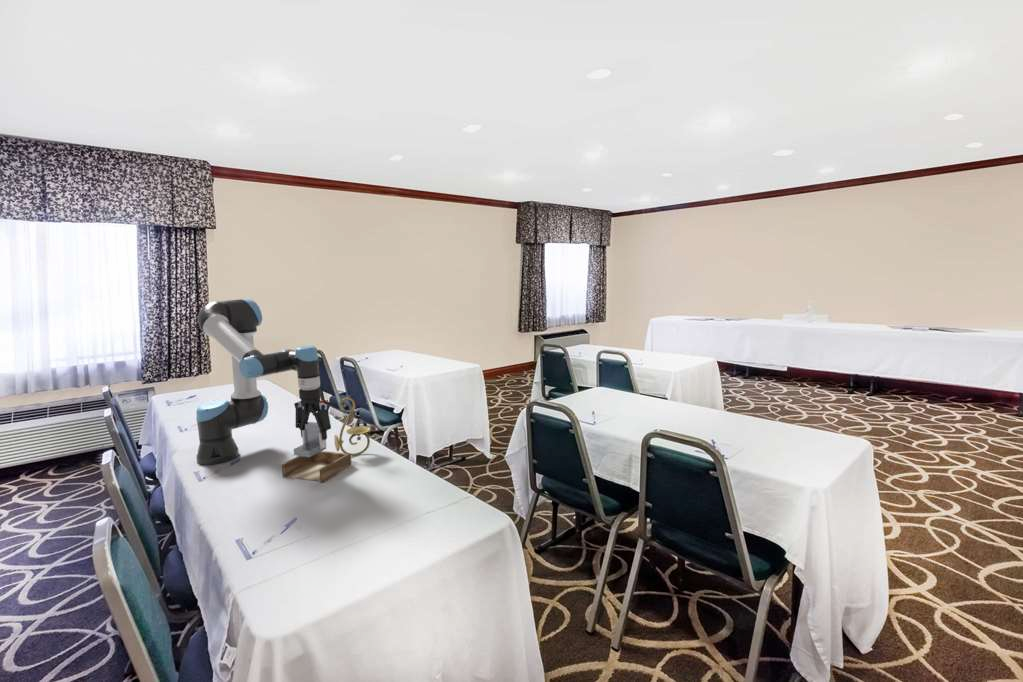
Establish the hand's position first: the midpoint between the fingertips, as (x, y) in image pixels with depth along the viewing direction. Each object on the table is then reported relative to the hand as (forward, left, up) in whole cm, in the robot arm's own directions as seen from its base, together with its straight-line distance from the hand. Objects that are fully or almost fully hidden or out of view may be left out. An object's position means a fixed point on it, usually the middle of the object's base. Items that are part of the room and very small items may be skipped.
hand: (314, 446), depth 189 cm
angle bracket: (0, -3, -1) cm, 3 cm away
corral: (0, 0, -10) cm, 10 cm away
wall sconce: (+4, +18, -10) cm, 21 cm away
